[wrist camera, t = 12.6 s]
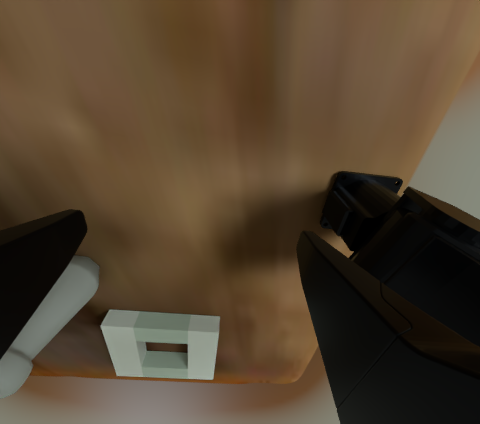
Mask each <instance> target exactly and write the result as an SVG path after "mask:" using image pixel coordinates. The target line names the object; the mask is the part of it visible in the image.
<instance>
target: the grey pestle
mask: <svg viewBox="0 0 480 424" xmlns="http://www.w3.org/2000/svg"><path fill="white" fill-rule="evenodd" d="M99 268H100V266H98V265H97V264H96V263H95V262H94V261H92V260H91V259H90V258H89V257H84V256H76V255H74V256H73V258H72V260H71V261H70V263H69V265H68V266H67V268H66V269H65V271H64V272H63V273H62V275H61V276H60V278H59V279H58V280H57V282H56V283H55V285H54V286H53V287H52V289H51V290H50V292H49V293H48V294H47V296H46V297H45V299H44V300H43V301H42V303H41V304H40V305H39V307H38V308H37V310H36V311H35V312H34V314H33V315H32V317H31V318H30V319H29V321H28V322H27V324H26V325H25V326H24V328H23V329H22V331H21V332H20V333H19V335H18V336H17V338H16V339H15V340H14V342H13V343H12V345H11V346H10V347H9V349H8V350H7V352H6V353H5V354H4V356H3V357H2V358H1V360H0V399H1V398H4V397H7V396H9V395H11V394H13V393H16V391H17V390H18V389H19V388H20V387H21V386H22V385H23V384H24V382H25V381H26V379H27V377H28V376H29V374H30V372H31V370H32V367H33V364H32V362H31V360H32V359H33V358H34V357H35V356H36V355H37V354H38V353H39V352H40V351H41V350H42V349H43V348H44V347H45V346H46V345H47V344H48V343H49V342H50V341H51V339H52V338H53V337H54V336H55V335H56V334H57V333H58V332H59V331H60V330H61V329H62V328H63V327H64V326H65V325H66V324H67V323H68V322H69V321H70V320H71V319H72V318H73V317H74V315H75V314H76V313H77V312H78V311H79V310H80V309H81V308H82V307H83V306H84V305H85V304H86V303H87V302H88V301H89V300H90V299H91V298H92V297H93V296H94V294H95V292H96V290H97V288H98V286H99Z"/></svg>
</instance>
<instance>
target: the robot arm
mask: <svg viewBox="0 0 480 424" xmlns="http://www.w3.org/2000/svg"><path fill="white" fill-rule="evenodd" d="M343 175H345V176H344V178H341V177H342V176H343ZM395 182H397V183H396V184H395ZM402 183H403V181H402V179H400V178H398V177H390V176H382V175H373V174H364V173H356V172H347V171H341V172H340V173H338V175H337V177H336V180H335V183H334V186H333V188H332V191H330V192H329V195H328V198H327V200H326V203H325V206H324V209H323V212H322V213H323V216H322V218H321V221H320V225H321V226H322V228H327V229H333V230H334V231H335V233H336V234H337V236H341V238H342V239H343V241H344V242H345V244H346V245H347V247H348V248H349V250H350V251H354V252H353V254H352V255H351V256H350V257H349V258H347V257H346V256H345V255H343V254H342V253H341V252H339V251H338V250H336V249H335V248H334V247H332V246H331V245H330V244H328V243H327V242H326V241H324V240H323V239H321V238H320V237H319V236H317V235H316V234H315V233H313V232H311V231H302V232H301V234H300V237H299V240H298V244H297V248H296V251H297V258H298V264H299V271H300V277H301V283H302V287H303V290H304V294H305V297H306V301H307V305H308V308H309V312H310V315H311V319H312V323H313V326H314V330H315V333H316V337H317V341H318V344H319V348H320V351H321V355H322V358H323V362H324V366H325V369H326V373H327V376H328V380H329V384H330V387H331V391H332V394H333V398H334V401H335V405H336V408H337V413H338V417H339V420H340V424H480V220H479V219H477V218H475V217H473V216H472V215H470V214H468V213H466V212H464V211H462V210H460V209H459V208H457V207H455V206H453V205H451V204H448V203H446V202H444V201H441V200H439V199H437V198H434V197H432V196H430V195H427V194H425V193H423V192H421V191H418V190H416V189H414V188H412V187H409V186H408V187H407V188H406V189H405V191H404V192H403V193H404V194H403V195H402V196H401V197H400V196H399V195H397V193H398V191H399V189H400V187H401V185H402ZM326 222H327V223H326ZM324 223H326V224H324ZM86 233H87V224H86V221H85V217H84V214H83V212H82V211H80V210H73V209H69V210H66V211H62V212H59V213H56V214H53V215H49V216H46V217H43V218H40V219H37V220H33V221H30V222H27V223H24V224H20V225H17V226H14V227H11V228H7V229H4V230H1V231H0V360H1V358H2V357H3V356H4V354H5V353H6V352H7V350H8V349H9V347H10V346H11V345H12V343H13V342H14V340H15V339H16V338H17V336H18V335H19V333H20V332H21V331H22V329H23V328H24V326H25V325H26V324H27V322H28V321H29V319H30V318H31V317H32V315H33V314H34V312H35V311H36V310H37V308H38V307H39V305H40V304H41V303H42V301H43V300H44V299H45V297H46V296H47V294H48V293H49V292H50V290H51V289H52V287H53V286H54V285H55V283H56V282H57V280H58V279H59V278H60V276H61V275H62V273H63V272H64V271H65V269H66V268H67V266H68V265H69V263H70V261H71V260H72V258H73V256H74V255H75V253H76V251H77V249H78V247H79V246H80V244H81V242H82V240H83V239H84V237H85V235H86Z"/></svg>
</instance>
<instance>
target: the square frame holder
mask: <svg viewBox="0 0 480 424" xmlns="http://www.w3.org/2000/svg"><path fill="white" fill-rule="evenodd" d="M219 323H220V316H206V315H190V314H174V313H158V312H142V311H127V310H111V309H110V310H109V311H108V313H107V315H106V317H105V319H104V320H103V322H102V324H101V329H102V332H103V335H104V338H105V341H106V344H107V347H108V350H109V353H110V356H111V359H112V362H113V365H114V368H115V371H116V374H117V376H135V377H159V378H182V379H206V380H213V376H214V368H215V360H216V352H217V344H218V335H219ZM145 342H158V343H177V344H188V353H182V352H162V351H147V349H146V343H145Z"/></svg>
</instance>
